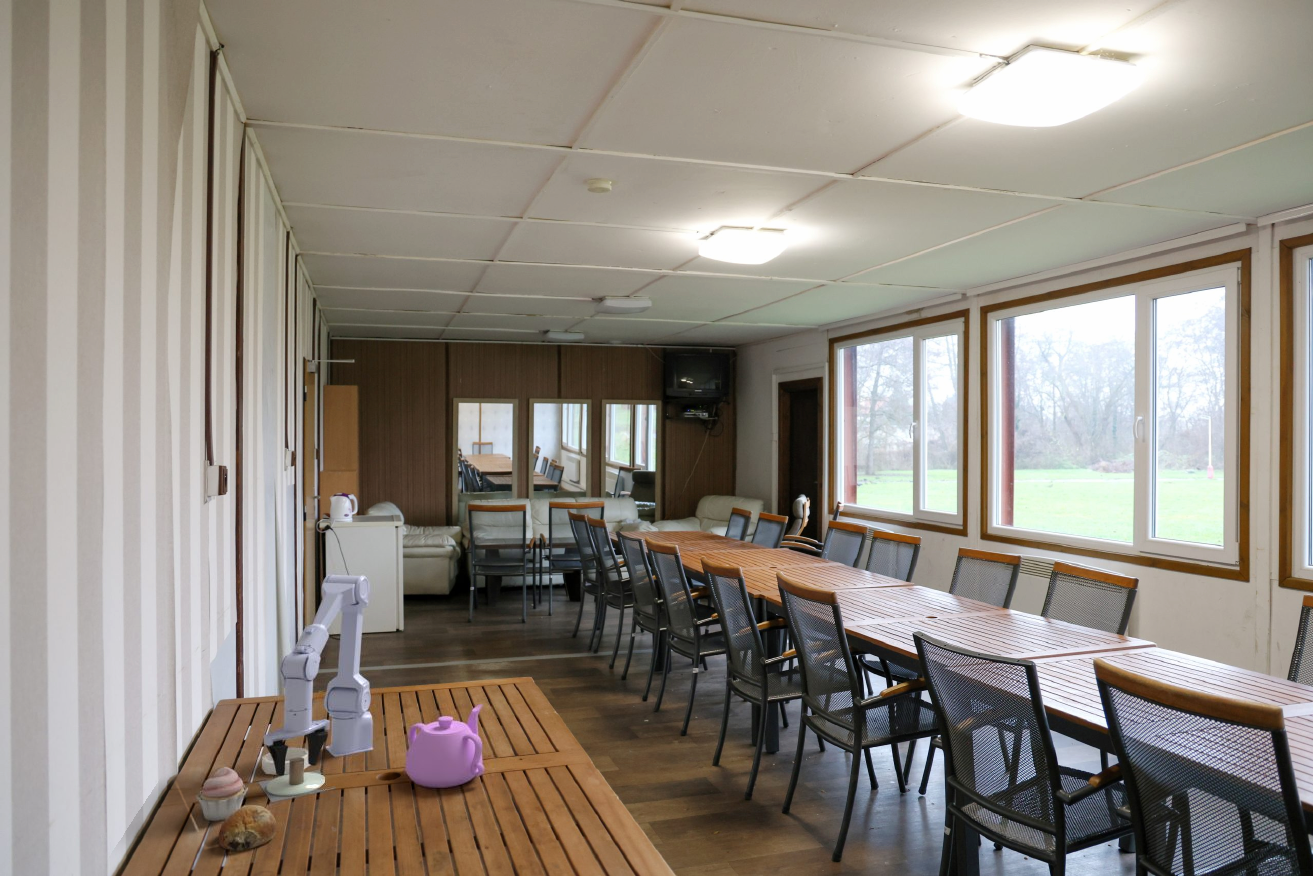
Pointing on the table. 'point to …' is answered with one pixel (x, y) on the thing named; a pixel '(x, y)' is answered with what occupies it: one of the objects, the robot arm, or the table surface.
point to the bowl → (291, 753)
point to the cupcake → (221, 795)
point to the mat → (278, 798)
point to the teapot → (445, 752)
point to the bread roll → (247, 828)
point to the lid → (295, 781)
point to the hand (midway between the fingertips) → (296, 769)
